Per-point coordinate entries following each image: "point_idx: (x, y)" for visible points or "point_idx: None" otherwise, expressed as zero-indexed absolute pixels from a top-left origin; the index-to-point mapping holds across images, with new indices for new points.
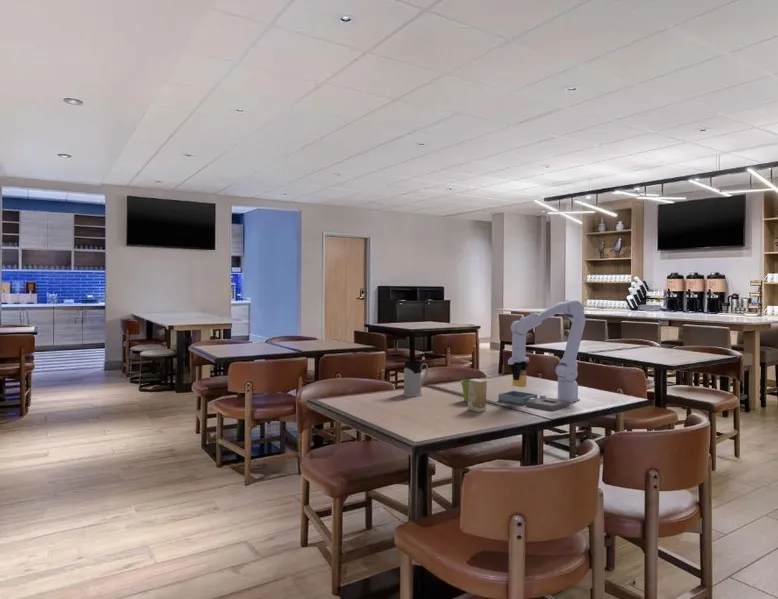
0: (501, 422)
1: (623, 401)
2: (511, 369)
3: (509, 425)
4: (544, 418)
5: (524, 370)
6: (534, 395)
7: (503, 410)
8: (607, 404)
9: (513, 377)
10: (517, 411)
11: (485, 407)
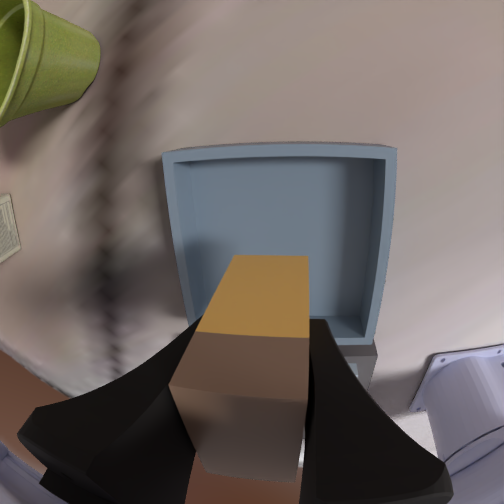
0: (16, 340)
1: None
2: (106, 392)
3: (23, 359)
4: None
5: (267, 476)
6: (336, 342)
7: (66, 293)
8: (434, 450)
9: (188, 328)
10: (99, 337)
11: (11, 254)
